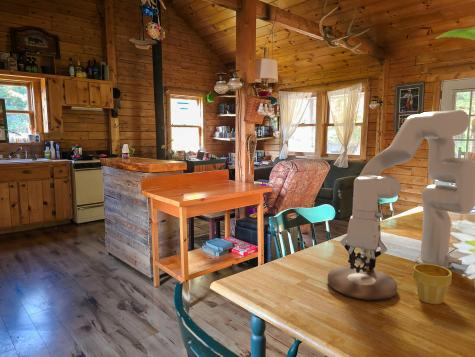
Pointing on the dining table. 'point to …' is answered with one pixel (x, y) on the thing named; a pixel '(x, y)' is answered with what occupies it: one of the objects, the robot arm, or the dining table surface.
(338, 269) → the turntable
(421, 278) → the plant pot
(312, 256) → the dining table surface
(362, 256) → the valve
